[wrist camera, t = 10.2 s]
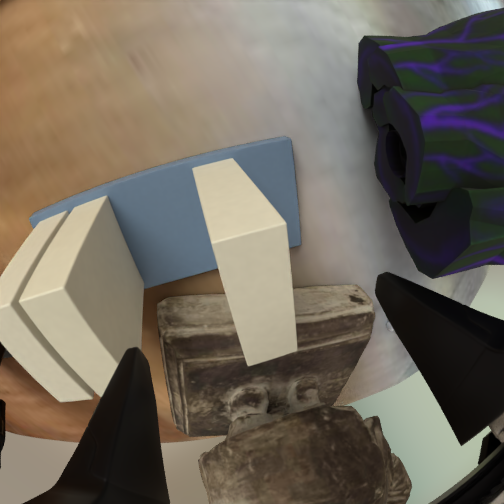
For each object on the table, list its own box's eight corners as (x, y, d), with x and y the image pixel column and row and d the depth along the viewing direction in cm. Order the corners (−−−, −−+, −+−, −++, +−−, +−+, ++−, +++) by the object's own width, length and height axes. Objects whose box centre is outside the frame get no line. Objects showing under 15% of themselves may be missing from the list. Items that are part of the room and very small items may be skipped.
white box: (216, 262, 20) (247, 367, 13) (191, 167, 16) (211, 242, 9) (251, 253, 21) (298, 351, 13) (232, 157, 17) (286, 222, 9)
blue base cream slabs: (79, 299, 20) (56, 407, 12) (33, 212, 15) (-36, 308, 7) (296, 238, 22) (365, 331, 14) (285, 135, 18) (382, 186, 9)
